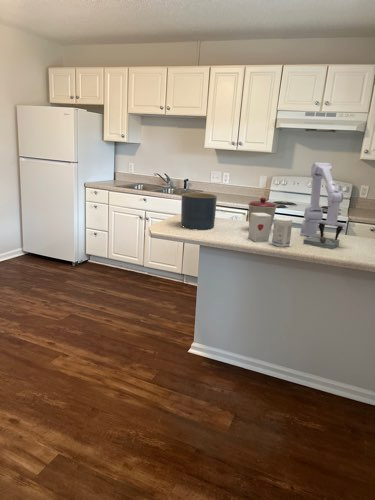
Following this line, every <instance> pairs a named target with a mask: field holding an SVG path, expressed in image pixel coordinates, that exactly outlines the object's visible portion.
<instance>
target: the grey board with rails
mask: <svg viewBox="0 0 375 500" xmlns="http://www.w3.org/2000/svg"><path fill="white" fill-rule="evenodd" d="M324 237H325V238H326V239H328V240H330V241H328V240H326V241H325V242H321V241H320V238H321V237H320V236H319V235H318V236H315V235H311V236H306V238H304V239H303V241H302V242H303V243H302V244H303V245H308V246H314V247H317V248H318V247H319V248H324V249H328V250H329V249H330V250H334V249H335V248H336V247H337V246H338V245H339V244H340V241H341V240H340V239H338V238H337V240H335V238H333V237H326V236H324Z"/></svg>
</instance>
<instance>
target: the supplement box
mask: <svg viewBox="0 0 375 500" xmlns="http://www.w3.org/2000/svg"><path fill="white" fill-rule="evenodd" d="M270 225H271V215H269V214H266V213H251V216H250V226H249V225H248V235H247V236H248V239H250V240H252V241H253V242H269V239H270V232H271V229H270Z"/></svg>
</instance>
